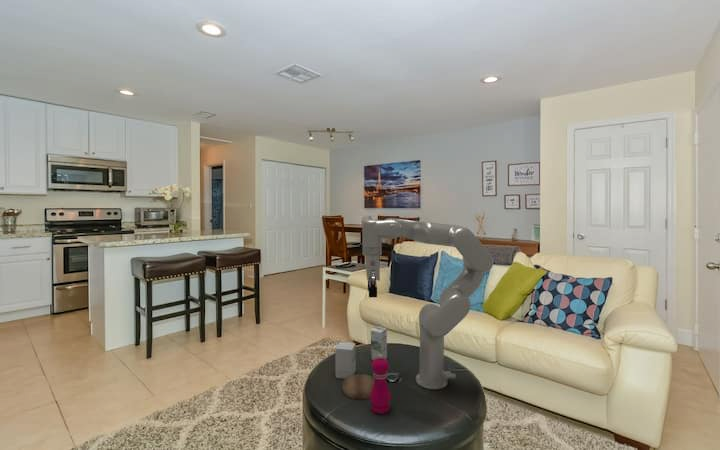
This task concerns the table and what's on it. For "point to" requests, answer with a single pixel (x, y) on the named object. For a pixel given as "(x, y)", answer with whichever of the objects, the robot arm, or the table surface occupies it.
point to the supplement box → (345, 360)
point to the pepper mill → (380, 386)
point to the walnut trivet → (358, 386)
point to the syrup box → (378, 342)
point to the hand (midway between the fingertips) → (372, 293)
